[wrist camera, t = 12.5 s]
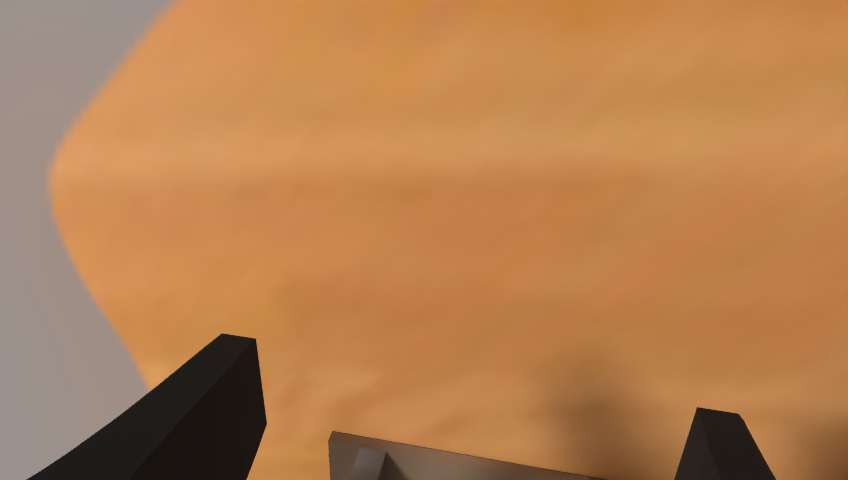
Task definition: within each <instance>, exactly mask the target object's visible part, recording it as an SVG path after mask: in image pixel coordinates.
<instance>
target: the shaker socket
mask: <svg viewBox="0 0 848 480" xmlns="http://www.w3.org/2000/svg"><path fill="white" fill-rule="evenodd" d="M328 444H329V462H330V480H603V479H597V478H592V477H586V476H580V475H575V474H569V473H564V472H558V471H552V470H547V469H541V468H536V467H530V466H524V465H519V464H513V463H507V462H502V461H496V460H491V459H485V458H479V457H474V456H468V455H462V454H457V453H451V452H446V451H440V450H434V449H429V448H423V447H417V446H412V445H406V444H401V443H395V442H389V441H384V440H378V439H372V438H367V437H361V436H356V435H350V434H344V433H339V432H333V431H332V433H331V436H330V438H329V441H328Z"/></svg>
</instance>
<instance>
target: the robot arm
mask: <svg viewBox="0 0 848 480" xmlns="http://www.w3.org/2000/svg"><path fill="white" fill-rule="evenodd" d="M266 425H267V422H266V414H265V406H264V398H263V391H262V383H261V375H260V367H259V360H258V352H257V344H256V339H254V338H248V337H241V336H235V335H228V334H221V335H219V336H218V337H217V338H216V339H214V340H213V341H212V342H211V343H209V344H208V345H207V346H205V347H204V348H203V349H202V350H201V351H199V352H198V353H197V354H196V355H194V356H193V357H192V358H191V359H190V360H188V361H187V362H186V363H185V364H184V365H182V366H181V367H180V368H179V369H177V370H176V371H175V372H174V373H173V374H171V375H170V376H169V377H168V378H166V379H165V380H164V381H163V382H161V383H160V384H159V385H158V386H157V387H155V388H154V389H153V390H152V391H150V392H149V393H148V394H146V395H145V396H144V397H143V398H141V399H140V400H139V401H137V402H136V403H135V404H134V405H132V406H131V407H130V408H129V409H127V410H126V411H125V412H123V413H122V414H121V415H120V416H118V417H117V418H116V419H114V420H113V421H112V422H110V423H109V424H108V425H106V426H105V427H103V428H102V429H101V430H99V431H98V432H96V433H95V434H94V435H92V436H91V437H90V438H88V439H87V440H85V441H84V442H82V443H81V444H80V445H78V446H77V447H76V448H74V449H73V450H71V451H70V452H68V453H67V454H66V455H64V456H63V457H61V458H60V459H58V460H57V461H55V462H54V463H52V464H51V465H49V466H48V467H46V468H45V469H43V470H41V471H40V472H38V473H37V474H35V475H33V476H32V477H30V478H29V479H27V480H246V479H247V477H248V474H249V471H250V469H251V466H252V464H253V461H254V458H255V456H256V453H257V450H258V447H259V445H260V442H261V439H262V436H263V433H264V430H265V427H266ZM674 480H776V479H775V477H774V475H773V474H772V472H771V470H770V468H769V467H768V465H767V463H766V461H765V459H764V458H763V456H762V454H761V452H760V450H759V448H758V447H757V445H756V443H755V441H754V439H753V437H752V435H751V434H750V432H749V430H748V428H747V426H746V424H745V422H744V420H743V419H742V418H741V417H740V415H739V414H737V413H730V412H724V411H717V410H711V409H705V408H698V407H697V409H696V413H695V416H694V419H693V422H692V425H691V428H690V432H689V435H688V438H687V441H686V444H685V448H684V451H683V454H682V457H681V460H680V463H679V467H678V470H677V473H676V476H675V479H674Z"/></svg>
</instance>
